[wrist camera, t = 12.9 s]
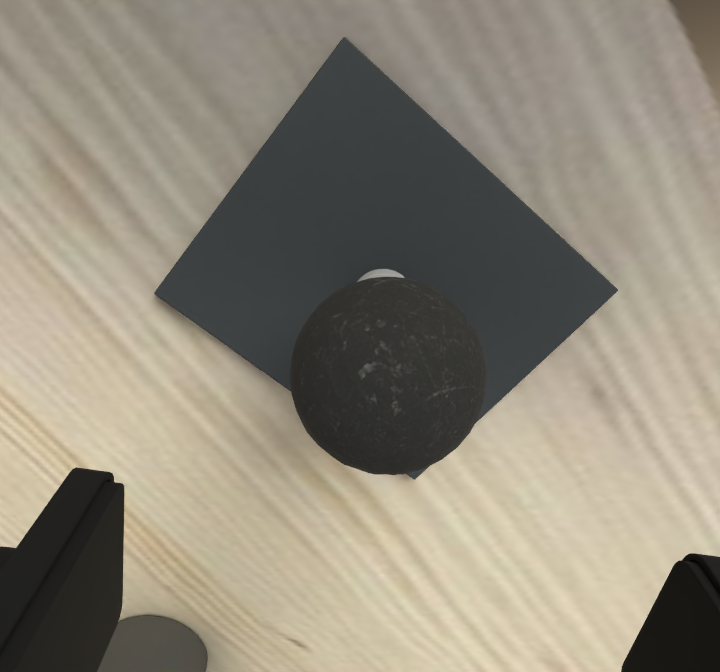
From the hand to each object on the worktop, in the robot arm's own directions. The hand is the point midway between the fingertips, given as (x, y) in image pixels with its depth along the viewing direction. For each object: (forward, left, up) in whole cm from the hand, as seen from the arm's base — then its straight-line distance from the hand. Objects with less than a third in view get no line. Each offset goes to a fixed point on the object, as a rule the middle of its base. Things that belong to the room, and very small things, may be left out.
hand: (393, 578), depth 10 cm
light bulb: (0, 0, -15) cm, 15 cm away
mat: (0, 0, -16) cm, 16 cm away
